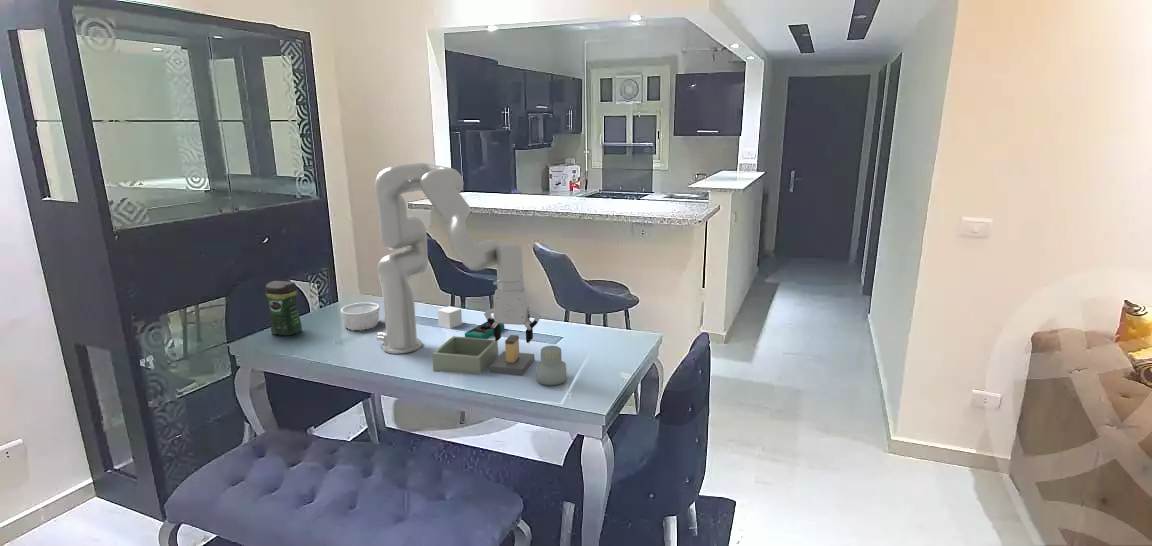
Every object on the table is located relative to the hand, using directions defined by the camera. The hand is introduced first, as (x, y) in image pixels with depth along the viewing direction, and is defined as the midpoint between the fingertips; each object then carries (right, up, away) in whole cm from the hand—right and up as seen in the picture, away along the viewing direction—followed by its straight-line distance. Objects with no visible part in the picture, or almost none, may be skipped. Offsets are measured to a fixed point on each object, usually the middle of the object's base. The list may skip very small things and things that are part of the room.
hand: (513, 340), depth 182 cm
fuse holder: (0, -9, +2) cm, 9 cm away
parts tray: (-15, -8, +6) cm, 18 cm away
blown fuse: (0, -8, +2) cm, 8 cm away
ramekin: (-59, +1, +40) cm, 71 cm away
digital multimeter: (-13, -2, +31) cm, 34 cm away
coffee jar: (-83, -1, +33) cm, 90 cm away
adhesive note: (-27, +1, +40) cm, 49 cm away
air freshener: (+12, -11, -7) cm, 18 cm away
